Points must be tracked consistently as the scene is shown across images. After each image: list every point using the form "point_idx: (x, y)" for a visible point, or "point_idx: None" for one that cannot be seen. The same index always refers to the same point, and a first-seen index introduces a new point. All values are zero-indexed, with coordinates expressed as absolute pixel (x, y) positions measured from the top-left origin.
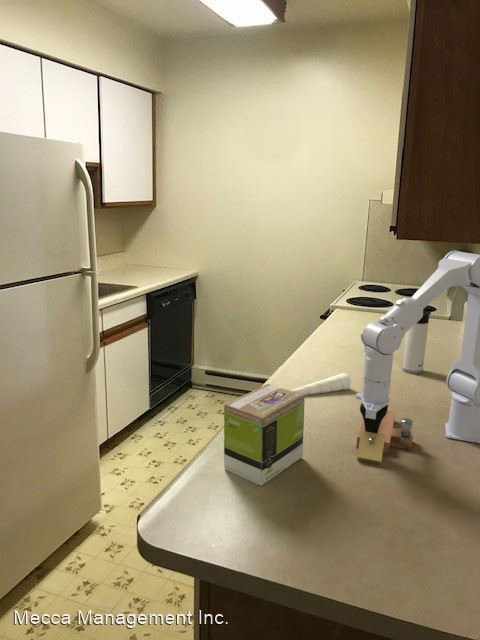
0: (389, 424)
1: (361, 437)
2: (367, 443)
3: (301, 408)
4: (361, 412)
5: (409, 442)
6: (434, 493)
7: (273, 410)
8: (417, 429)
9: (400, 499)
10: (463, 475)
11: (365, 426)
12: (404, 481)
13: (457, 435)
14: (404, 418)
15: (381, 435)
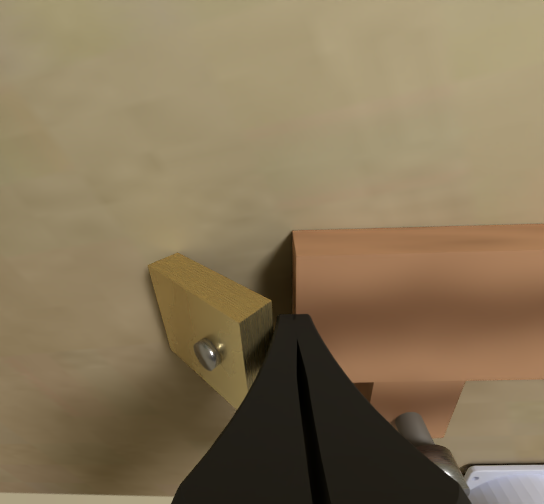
0: (501, 368)
1: (209, 311)
2: (198, 328)
3: None
4: (177, 490)
5: None
6: (119, 446)
7: None
8: (528, 405)
9: (21, 392)
10: None
11: (265, 360)
12: (128, 394)
13: (474, 493)
14: (467, 488)
15: None
